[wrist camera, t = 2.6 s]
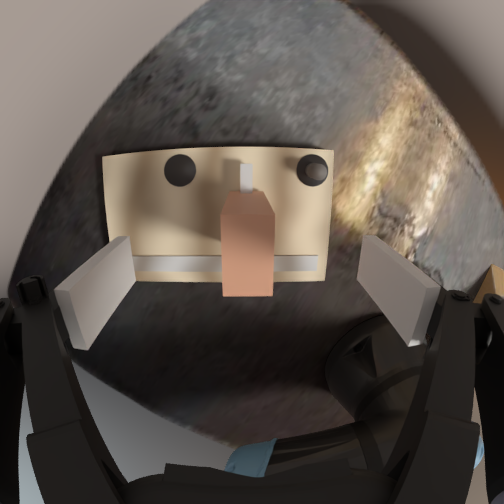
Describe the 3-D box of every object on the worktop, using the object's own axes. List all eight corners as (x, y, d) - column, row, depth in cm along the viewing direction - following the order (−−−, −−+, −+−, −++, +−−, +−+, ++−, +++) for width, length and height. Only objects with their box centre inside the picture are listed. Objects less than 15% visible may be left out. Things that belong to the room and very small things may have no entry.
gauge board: (327, 150, 26) (342, 150, 22) (319, 272, 30) (330, 291, 26) (110, 156, 25) (90, 157, 21) (122, 272, 30) (107, 290, 26)
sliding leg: (263, 163, 24) (276, 169, 15) (262, 244, 27) (272, 295, 17) (229, 163, 24) (219, 168, 15) (230, 245, 27) (222, 296, 17)
